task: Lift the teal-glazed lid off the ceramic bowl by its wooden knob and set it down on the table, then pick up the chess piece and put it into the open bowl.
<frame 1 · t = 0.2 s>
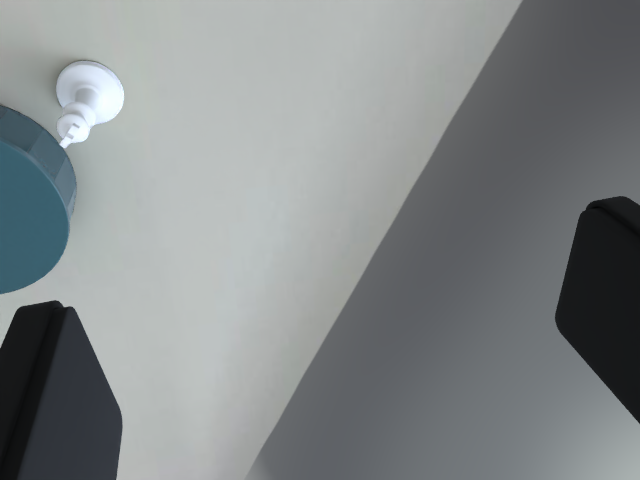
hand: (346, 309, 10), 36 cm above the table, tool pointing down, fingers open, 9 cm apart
chess piece: (91, 91, 41), on the table
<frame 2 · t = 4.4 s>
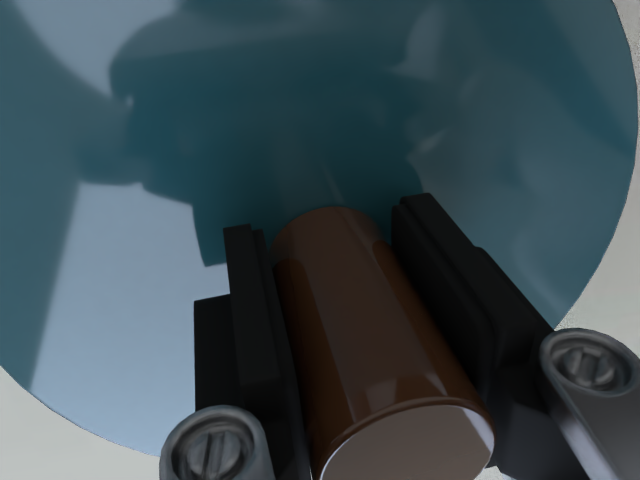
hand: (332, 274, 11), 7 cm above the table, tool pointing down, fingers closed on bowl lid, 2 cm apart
bowl lid: (320, 242, 11), point 6 cm above the table, touching bowl, gripper
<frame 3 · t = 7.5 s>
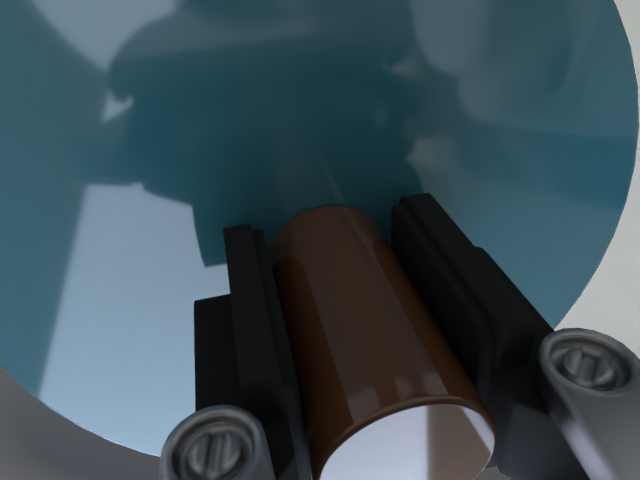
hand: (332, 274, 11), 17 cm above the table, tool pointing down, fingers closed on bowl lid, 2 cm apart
bowl lid: (320, 242, 11), point 16 cm above the table, touching gripper
when the fingers open (2 cm above the table, at t = 10.5 s): bowl lid stays where it is, point 1 cm above the table.
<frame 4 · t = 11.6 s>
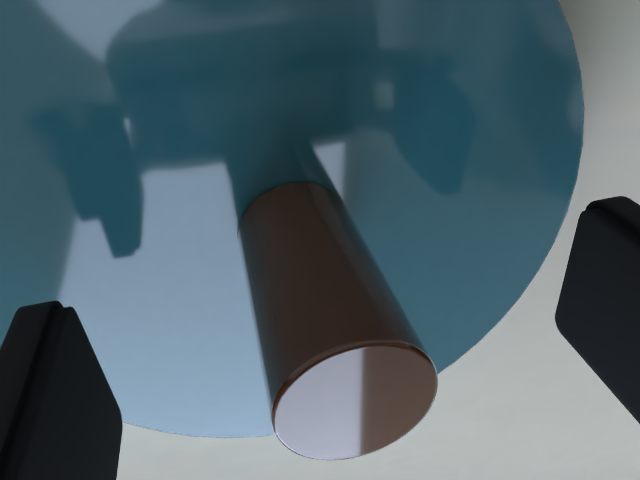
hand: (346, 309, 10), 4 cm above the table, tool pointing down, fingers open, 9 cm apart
bowl lid: (290, 219, 12), point 1 cm above the table
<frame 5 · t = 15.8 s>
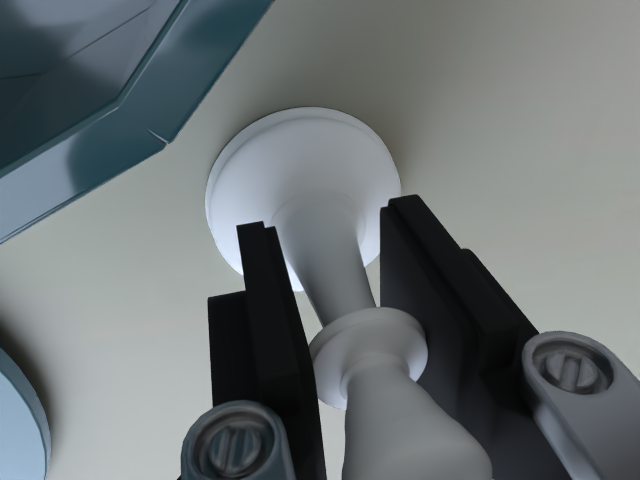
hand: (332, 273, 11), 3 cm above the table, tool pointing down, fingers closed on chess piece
chess piece: (302, 197, 13), on the table, touching gripper
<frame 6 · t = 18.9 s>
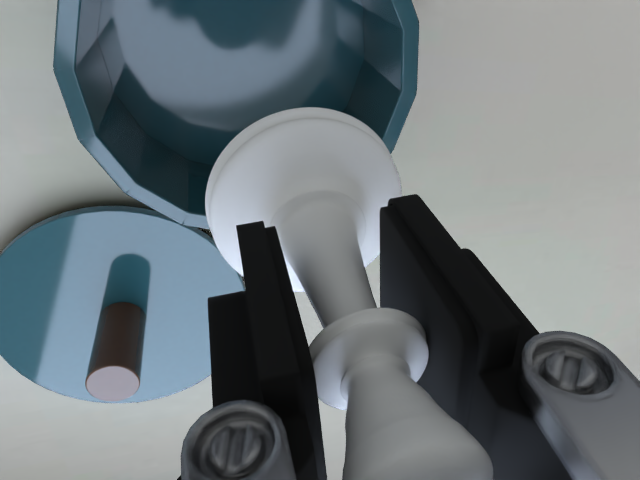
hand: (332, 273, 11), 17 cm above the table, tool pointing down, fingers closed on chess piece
bowl lid: (124, 312, 30), point 1 cm above the table
chess piece: (302, 197, 13), point 14 cm above the table, touching gripper
bowl: (238, 46, 24), on the table
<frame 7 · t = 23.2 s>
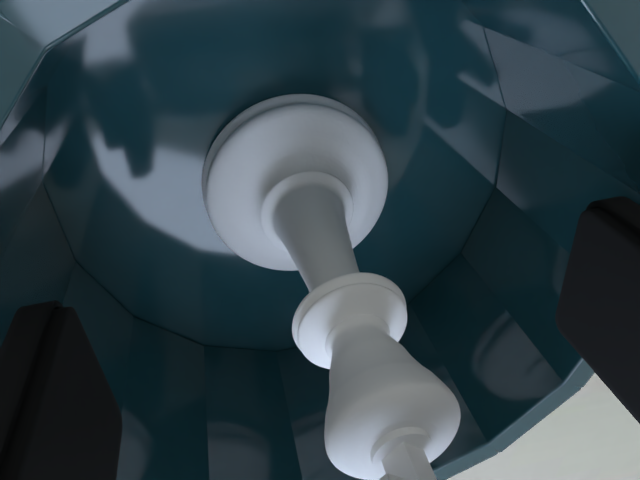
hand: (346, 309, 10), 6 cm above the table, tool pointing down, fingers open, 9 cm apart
chess piece: (294, 180, 14), resting on bowl
bowl: (290, 175, 14), on the table
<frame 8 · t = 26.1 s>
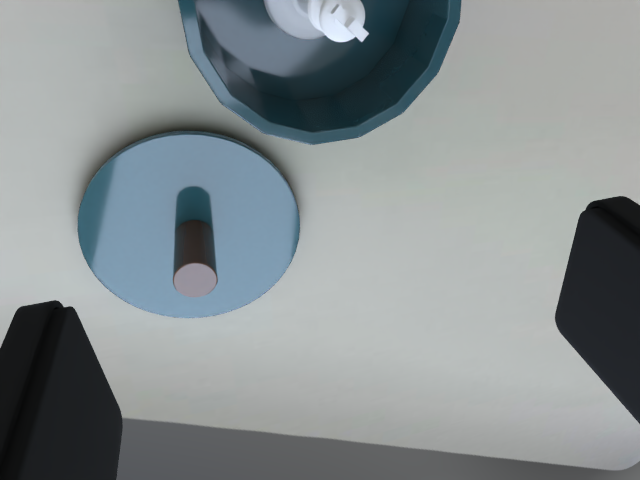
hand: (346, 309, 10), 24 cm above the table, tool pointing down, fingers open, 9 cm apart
bowl lid: (194, 231, 35), point 1 cm above the table
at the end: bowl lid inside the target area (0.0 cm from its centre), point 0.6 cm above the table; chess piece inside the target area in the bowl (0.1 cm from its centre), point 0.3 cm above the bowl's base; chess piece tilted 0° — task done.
